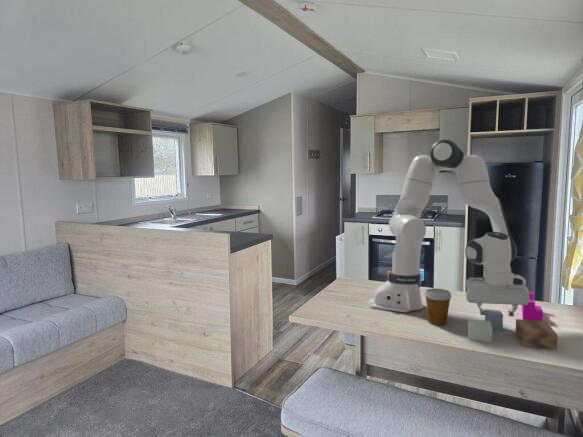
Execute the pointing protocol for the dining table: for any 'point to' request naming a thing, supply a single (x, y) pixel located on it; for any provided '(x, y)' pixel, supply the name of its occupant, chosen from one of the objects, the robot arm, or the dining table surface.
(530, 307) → the toy block
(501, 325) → the slate block
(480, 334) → the sage block
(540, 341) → the walnut pedestal
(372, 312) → the dining table surface
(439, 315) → the disposable coffee cup
